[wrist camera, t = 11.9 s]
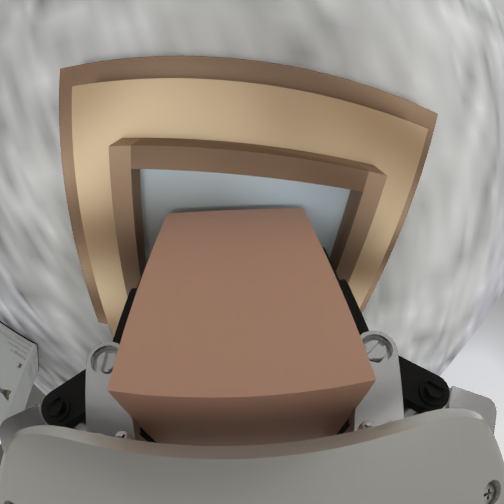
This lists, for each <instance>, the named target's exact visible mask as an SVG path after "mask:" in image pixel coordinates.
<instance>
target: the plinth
mask: <svg viewBox="0 0 504 504" xmlns="http://www.w3.org/2000/svg"><path fill="white" fill-rule="evenodd" d="M437 115H438V114H437V113H435V112H433V111H430V110H428V109H426V108H424V107H422V106H419V105H417V104H415V103H412V102H410V101H407V100H405V99H402V98H400V97H397V96H395V95H392V94H389V93H387V92H384V91H381V90H378V89H375V88H372V87H369V86H366V85H363V84H360V83H357V82H354V81H350V80H347V79H343V78H340V77H336V76H332V75H328V74H324V73H320V72H316V71H311V70H307V69H302V68H297V67H292V66H286V65H281V64H275V63H268V62H261V61H253V60H245V59H235V58H223V57H206V56H155V57H138V58H126V59H116V60H108V61H101V62H94V63H88V64H82V65H77V66H72V67H67V68H62V69H60V85H59V125H60V144H61V157H62V167H63V175H64V183H65V190H66V197H67V203H68V209H69V215H70V220H71V225H72V230H73V235H74V239H75V244H76V248H77V252H78V256H79V260H80V264H81V268H82V271H83V275H84V278H85V282H86V285H87V288H88V292H89V295H90V298H91V301H92V304H93V307H94V310H95V313H96V316H97V319H98V321H99V322H100V323H107V324H109V327H110V330H111V333H112V336H113V339H114V335H115V332H116V329H117V326H118V323H119V320H120V317H121V314H122V312H123V309H124V306H125V303H126V300H127V298H128V295H129V292H130V290H131V289H132V288H137V287H138V284H139V281H140V278H141V276H142V273H143V270H144V268H145V265H146V262H147V260H148V257H149V255H150V254H151V252H152V249H153V247H154V244H155V242H156V239H157V237H158V234H159V232H160V229H161V227H162V225H163V222H164V220H165V218H166V215H167V213H182V212H200V211H220V210H244V209H277V208H304V210H305V212H306V214H307V216H308V218H309V220H310V222H311V224H312V227H313V229H314V231H315V233H316V235H317V237H318V239H319V241H320V243H321V246H322V247H324V248H325V250H326V252H327V254H328V256H329V258H330V260H331V263H332V265H333V267H334V269H335V271H336V274H337V276H338V278H339V280H341V279H345V280H346V281H347V283H348V284H349V287H350V289H351V291H352V293H353V295H354V298H355V300H356V302H357V304H358V306H359V309H360V311H361V313H362V312H363V310H364V308H365V306H366V304H367V302H368V300H369V298H370V296H371V294H372V292H373V290H374V288H375V286H376V284H377V282H378V280H379V278H380V276H381V274H382V272H383V270H384V267H385V265H386V263H387V261H388V259H389V256H390V254H391V252H392V250H393V247H394V245H395V243H396V240H397V238H398V235H399V233H400V231H401V228H402V226H403V223H404V221H405V218H406V215H407V213H408V210H409V207H410V205H411V202H412V199H413V196H414V194H415V191H416V188H417V185H418V182H419V179H420V176H421V173H422V170H423V166H424V163H425V160H426V157H427V153H428V150H429V146H430V143H431V139H432V135H433V131H434V127H435V123H436V119H437Z"/></svg>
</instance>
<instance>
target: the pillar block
mask: <svg viewBox="0 0 504 504" xmlns="http://www.w3.org/2000/svg"><path fill="white" fill-rule="evenodd" d="M375 381H376V377H375V374H374V371H373V368H372V366H371V363H370V360H369V358H368V355H367V352H366V350H365V347H364V344H363V342H362V339H361V337H360V334H359V332H358V329H357V327H356V324H355V322H354V319H353V317H352V314H351V312H350V309H349V307H348V305H347V302H346V300H345V297H344V295H343V293H342V290H341V288H340V286H339V283H338V281H337V279H336V277H335V274H334V272H333V270H332V268H331V265H330V263H329V261H328V259H327V256H326V254H325V252H324V250H323V248H322V246H321V243H320V241H319V239H318V237H317V235H316V233H315V231H314V229H313V227H312V224H311V222H310V220H309V218H308V216H307V214H306V212H305V210H304V208H277V209H244V210H220V211H200V212H182V213H167V215H166V218H165V220H164V222H163V225H162V227H161V229H160V232H159V234H158V237H157V239H156V242H155V244H154V247H153V249H152V252H151V254H150V257H149V259H148V262H147V265H146V267H145V270H144V273H143V275H142V278H141V281H140V284H139V286H138V289H137V292H136V295H135V298H134V301H133V304H132V307H131V310H130V313H129V316H128V319H127V322H126V325H125V329H124V332H123V335H122V338H121V342H120V345H119V349H118V352H117V356H116V359H115V363H114V367H113V370H112V374H111V378H110V382H109V386H108V392H109V393H110V394H111V395H112V396H113V398H114V399H115V400H116V401H117V402H118V403H119V404H120V406H121V407H122V408H123V409H124V410H125V411H126V412H127V413H128V414H129V415H130V416H133V417H134V419H135V420H136V421H137V422H138V423H139V425H140V427H141V428H142V429H143V430H144V431H145V432H146V433H147V434H148V435H149V436H150V437H151V438H152V439H153V440H154V441H156V442H157V443H163V444H175V445H193V446H247V445H264V444H276V443H286V442H295V441H303V440H310V439H316V438H322V437H328V436H334V435H336V434H337V432H338V431H339V430H340V429H341V428H342V426H343V425H344V424H345V422H346V421H347V420H348V419H349V414H350V413H351V412H352V410H353V409H354V408H355V406H358V405H359V404H360V403H361V401H362V400H363V398H364V397H365V396H366V394H367V393H368V391H369V390H370V388H371V387H372V385H373V384H374V382H375Z"/></svg>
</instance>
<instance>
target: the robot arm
mask: <svg viewBox="0 0 504 504" xmlns="http://www.w3.org/2000/svg"><path fill="white" fill-rule="evenodd" d="M322 248H323V250H324V252H325V254H326V256H327V259H328V261H329V263H330V265H331V268H332V270H333V272H334V274H335V277H336V279H337V281H338V283H339V286H340V288H341V290H342V293H343V295H344V297H345V300H346V302H347V305H348V307H349V309H350V312H351V314H352V317H353V319H354V322H355V324H356V327H357V329H358V332H359V334H360V337H361V339H362V342H363V344H364V347H365V350H366V352H367V355H368V358H369V360H370V363H371V366H372V368H373V371H374V374H375V377H376V381H375V382H374V384H373V385H372V387H371V388H370V390H369V391H368V393H367V394H366V396H365V397H364V398H363V400H362V401H361V403H360V404H359V405H358V406H355V408H354V409H353V410H352V412H351V413H350V414H349V419H348V420H347V421H346V422H345V424H344V425H343V426H342V428H341V429H340V430H339V431H338V432H337V434H336V435H334V436H328V437H322V438H316V439H310V440H303V441H295V442H286V443H276V444H264V445H247V446H193V445H175V444H163V443H157V442H156V441H154V440H153V439H152V438H151V437H150V436H149V435H148V434H147V433H146V432H145V431H144V430H143V429H142V428H141V427H140V425H139V423H138V422H137V421H136V420H135V419H134V417H133V416H130V415H129V414H128V413H127V412H126V411H125V410H124V409H123V408H122V407H121V406H120V404H119V403H118V402H117V401H116V400H115V399H114V398H113V396H112V395H111V394H110V393H109V392H108V386H109V382H110V378H111V374H112V370H113V367H114V363H115V359H116V356H117V352H118V349H119V345H120V342H121V338H122V335H123V332H124V329H125V325H126V322H127V319H128V316H129V313H130V310H131V307H132V304H133V301H134V298H135V295H136V292H137V289H138V287H137V288H132V289H131V290H130V292H129V295H128V298H127V300H126V303H125V306H124V309H123V312H122V314H121V317H120V320H119V323H118V326H117V329H116V332H115V335H114V339H113V342H104V343H101V344H99V345H97V346H95V347H94V348H93V349H92V350H91V351H90V353H89V355H88V357H87V361H86V369H85V370H84V371H82V372H81V373H79V374H78V375H76V376H74V377H73V378H71V379H70V380H68V381H67V382H65V383H64V384H62V385H61V386H59V387H58V388H56V389H55V390H53V391H51V392H50V393H49V394H48V395H47V396H46V397H45V398H44V400H43V403H42V405H41V406H39V405H38V404H36V405H34V406H32V407H30V408H28V409H26V410H24V411H22V412H19V413H17V414H15V415H13V416H11V417H9V418H7V419H5V420H4V421H3V422H2V424H1V425H0V440H1V444H2V448H3V452H4V454H3V458H2V461H1V466H0V504H504V462H503V459H502V455H501V452H500V449H499V447H498V444H497V441H496V439H495V437H494V428H495V421H496V407H495V404H494V403H493V402H492V401H491V400H490V399H489V398H487V397H484V396H481V395H478V394H474V393H472V392H469V391H466V390H463V389H460V388H457V387H454V386H452V387H451V388H449V387H448V385H447V383H446V382H445V381H444V379H442V378H441V377H439V376H438V375H436V374H434V373H432V372H430V371H428V370H426V369H424V368H422V367H420V366H418V365H416V364H414V363H412V362H410V361H408V360H406V359H404V358H402V357H400V356H398V351H397V347H396V344H395V342H394V341H393V339H392V338H391V337H389V336H388V335H387V334H385V333H382V332H379V331H369V330H368V327H367V325H366V322H365V320H364V318H363V316H362V313H361V311H360V309H359V306H358V304H357V302H356V300H355V298H354V295H353V293H352V291H351V289H350V287H349V284H348V283H347V281H346V280H345V279H341V280H339V278H338V276H337V274H336V271H335V269H334V267H333V265H332V263H331V260H330V258H329V256H328V254H327V252H326V250H325V248H324V247H322ZM149 257H150V255H149ZM149 257H148V259H149ZM147 262H148V260H147ZM147 262H146V265H147ZM146 265H145V267H146ZM144 270H145V268H144ZM144 270H143V273H144ZM143 273H142V275H143ZM141 278H142V276H141ZM141 278H140V281H141ZM140 281H139V284H140ZM139 284H138V286H139Z"/></svg>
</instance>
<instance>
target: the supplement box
mask: <svg viewBox="0 0 504 504" xmlns="http://www.w3.org/2000/svg"><path fill="white" fill-rule="evenodd" d="M37 372H38V354H37V345H36V344H34V343H32V342H30V341H28V340H26V339H25V338H23V337H21V336H20V335H18V334H16V333H15V332H13V331H12V330H10V329H9V328H7V327H6V326H5V325H3V324H2V323H0V425H1V424H2V422H3V421H4V420H5V419H7V418H9V417H11V416H13V415H15V414H17V413H19V412H22V411H24V409H25V406H26V403H27V400H28V397H29V394H30V391H31V388H32V386H33V383H34V380H35V378H36V375H37ZM0 444H1V440H0Z"/></svg>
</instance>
